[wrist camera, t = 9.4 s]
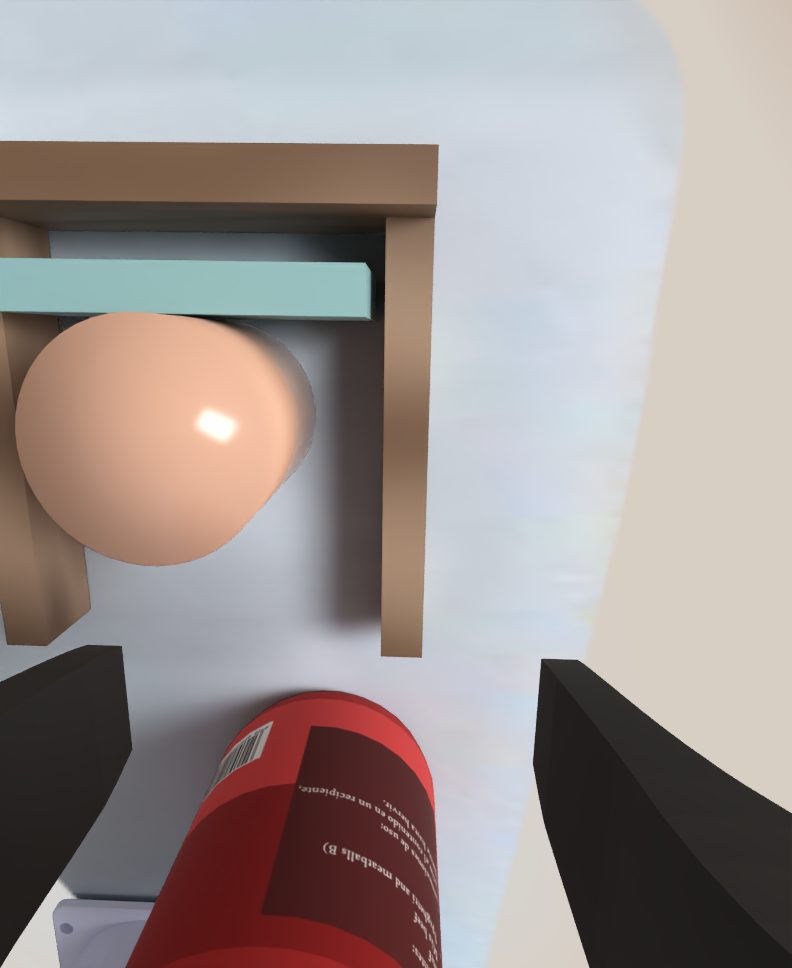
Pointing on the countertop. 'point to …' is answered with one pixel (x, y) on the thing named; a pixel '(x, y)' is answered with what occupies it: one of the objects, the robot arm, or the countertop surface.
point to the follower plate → (189, 288)
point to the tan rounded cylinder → (161, 431)
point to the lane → (240, 209)
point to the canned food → (307, 849)
